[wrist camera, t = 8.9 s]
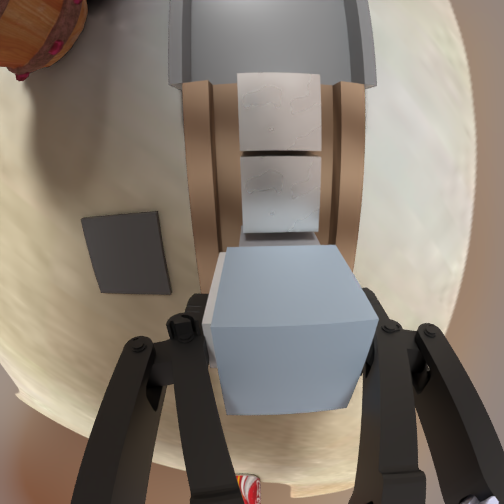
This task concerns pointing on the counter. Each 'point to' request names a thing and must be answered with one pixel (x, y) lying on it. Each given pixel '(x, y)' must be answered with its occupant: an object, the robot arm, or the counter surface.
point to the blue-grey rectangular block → (289, 326)
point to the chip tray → (270, 40)
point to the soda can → (249, 488)
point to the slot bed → (228, 150)
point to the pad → (127, 253)
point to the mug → (38, 32)
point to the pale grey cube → (279, 111)
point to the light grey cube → (280, 191)
